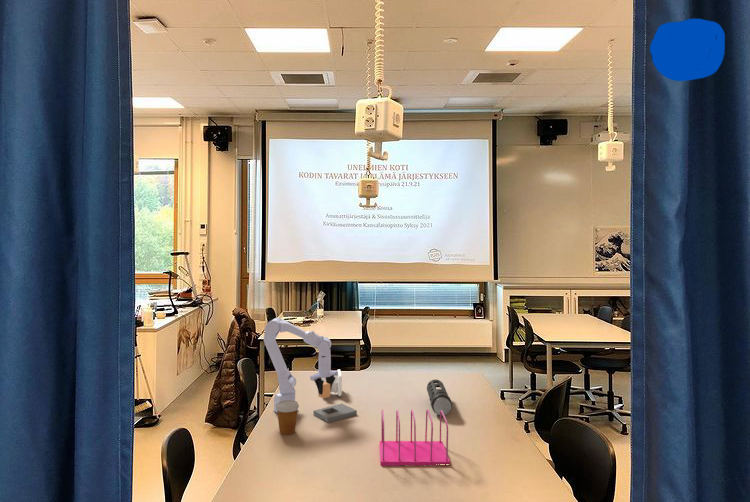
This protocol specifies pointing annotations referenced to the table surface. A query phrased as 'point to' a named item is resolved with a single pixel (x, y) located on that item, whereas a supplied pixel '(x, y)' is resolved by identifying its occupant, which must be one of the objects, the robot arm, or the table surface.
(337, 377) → the cable organizer
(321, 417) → the socket plate
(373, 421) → the table surface
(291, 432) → the disposable coffee cup
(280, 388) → the robot arm
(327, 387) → the orange rectangular block
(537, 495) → the table surface
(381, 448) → the file sorter
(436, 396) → the perforated grey cylinder
